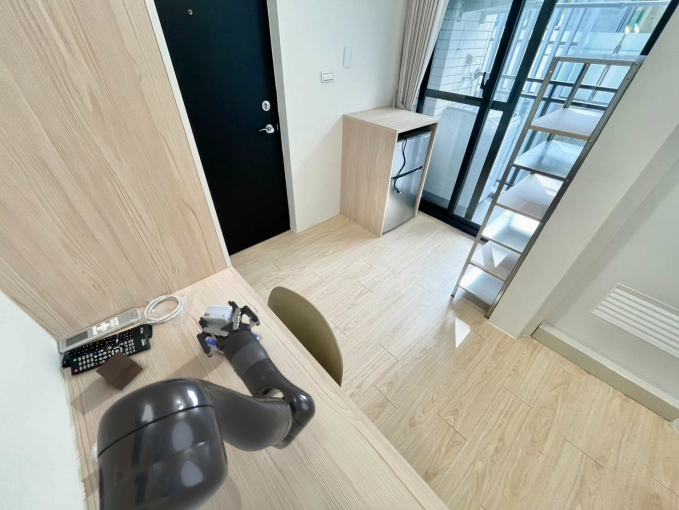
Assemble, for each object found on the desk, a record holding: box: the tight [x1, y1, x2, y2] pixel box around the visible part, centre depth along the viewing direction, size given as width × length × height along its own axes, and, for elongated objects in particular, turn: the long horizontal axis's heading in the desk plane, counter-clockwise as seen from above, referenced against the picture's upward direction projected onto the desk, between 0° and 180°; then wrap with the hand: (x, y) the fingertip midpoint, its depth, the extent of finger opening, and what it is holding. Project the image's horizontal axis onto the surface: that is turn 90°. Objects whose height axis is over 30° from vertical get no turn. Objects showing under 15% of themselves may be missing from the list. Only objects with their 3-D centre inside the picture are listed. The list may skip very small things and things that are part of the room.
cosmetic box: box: [202, 304, 235, 330], centre depth 71 cm, size 6×4×12 cm
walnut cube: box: [95, 350, 144, 391], centre depth 69 cm, size 6×6×5 cm
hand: (216, 310), depth 70 cm, fingers closed on cosmetic box, 7 cm apart
